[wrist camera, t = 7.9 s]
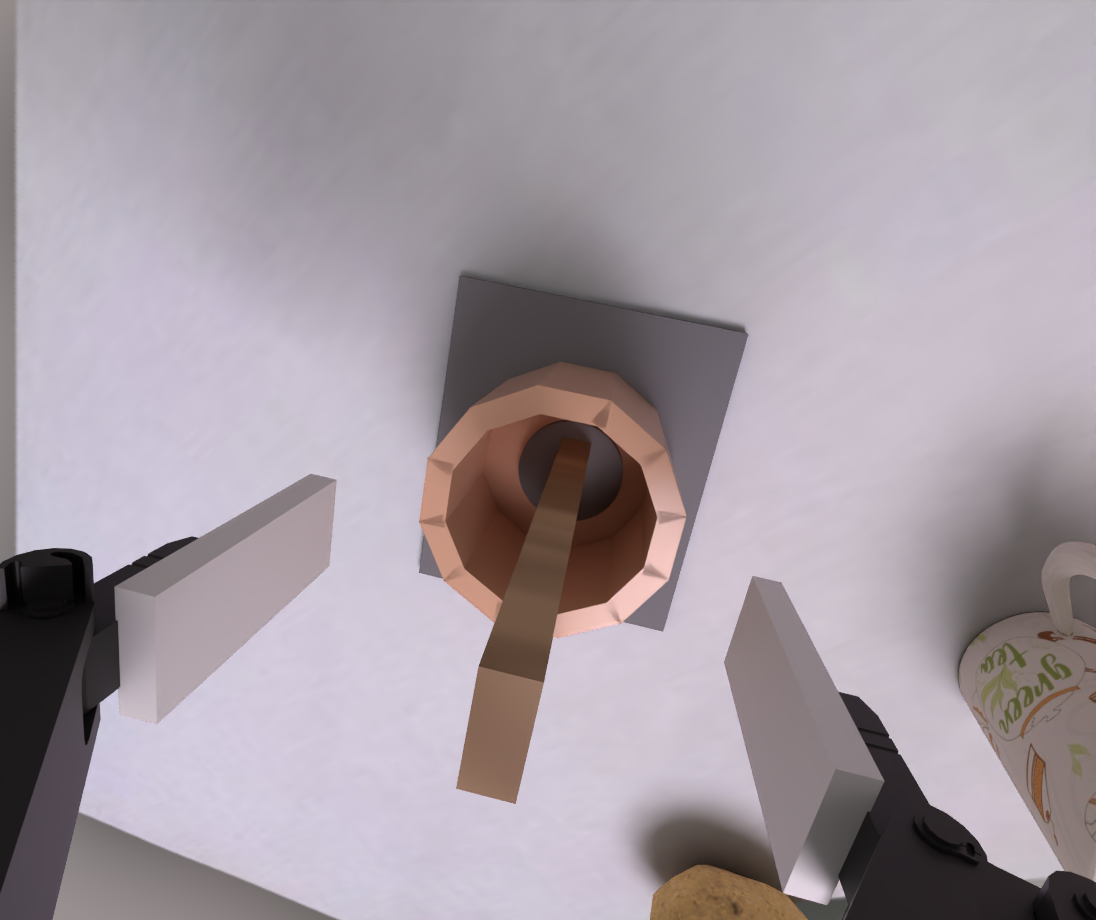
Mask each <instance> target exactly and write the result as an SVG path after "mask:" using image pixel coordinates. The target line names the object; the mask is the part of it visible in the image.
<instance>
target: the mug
mask: <svg viewBox="0 0 1096 920" xmlns="http://www.w3.org/2000/svg"><path fill="white" fill-rule="evenodd" d="M1075 575H1085V576H1089V577H1091V578H1093V579H1095V580H1096V545H1093V544H1090V543H1086V542H1076V541H1073V542H1065V543H1063V544H1060V545H1058V546H1056V547H1055V548H1054V549H1053V550H1052V552H1051V553H1050V555H1049V557H1048V558H1047V560H1046V562H1045V564H1044V566H1043V569H1042V574H1041V582H1042V587H1043V591H1044V595H1045V598H1046V601H1047V605H1048V608H1049V611H1050V612H1033V613H1025V614H1020V615H1016V616H1012V617H1009V618H1007V619H1004V620H1002V621H999V622H997V623H995V624H994V625H992V626H990V627H989V628H987V629H986V630H984V631H983V632H982V633H981V634H979V635H978V636H977V637H976V638H975V639H974V640H973V642H972V643H971V644H970V645H969V647H968V648H967V650H966V652H965V653H964V655H963V658H962V660H961V663H960V668H959V685H960V689H961V692H962V694H963V697H964V699H965V701H966V703H967V705H968V706H969V708H970V710H971V712H972V714H973V715H974V717H975V719H976V720H977V722H978V724H979V726H980V727H981V729H982V731H983V732H984V734H985V736H986V738H987V739H988V741H989V743H990V744H991V746H992V748H993V749H994V751H995V753H996V755H997V756H998V758H999V760H1000V761H1001V763H1002V765H1003V767H1004V768H1005V770H1006V772H1007V773H1008V775H1009V777H1010V779H1011V780H1012V782H1013V784H1014V785H1015V787H1016V789H1017V790H1018V792H1019V794H1020V796H1021V797H1022V799H1023V801H1024V802H1025V804H1026V806H1027V808H1028V809H1029V811H1030V813H1031V814H1032V816H1033V818H1034V820H1035V821H1036V823H1037V825H1038V826H1039V828H1040V830H1041V831H1042V833H1043V835H1044V837H1045V838H1046V840H1047V842H1048V843H1049V845H1050V847H1051V849H1052V850H1053V852H1054V854H1055V855H1056V857H1057V859H1058V861H1059V862H1060V864H1061V866H1062V867H1063V869H1064V871H1067V872H1073V873H1075V874H1078V875H1081V876H1083V877H1086V878H1089V879H1091V880H1093V881H1094V882H1096V628H1094V627H1092V626H1090V625H1088V624H1086V623H1084V622H1082V621H1080V620H1078V619H1075V618H1073V614H1072V607H1071V599H1070V580H1071V577H1072V576H1075Z"/></svg>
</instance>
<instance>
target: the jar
mask: <svg viewBox="0 0 1096 920" xmlns="http://www.w3.org/2000/svg"><path fill="white" fill-rule="evenodd" d="M560 420H571V421H575V422H580V423H585V424H589V425H594V426H597V427H598V428H600V429H601V430H602V431H603V432H604V433H606V434H607V435H608V436H609V437H610V438H611V439H612V440H613V441H614V443H615V444H616V446H617V448H618V450H619V452H620V455H621V458H622V463H623V479H622V485H621V488H620V491H619V493H618V495H617V497H616V499H615V500H614V501H613V503H612V504H611V505H610V506H609V507H608V508H607V509H606V510H605V511H603V512H602V513H600V514H599V515H597V516H594V517H592V518H589V519H586V520H581V521H576V524H575V529H574V534H573V539H572V544H571V549H570V554H569V559H568V564H567V569H566V574H565V579H564V584H563V589H562V594H561V599H560V604H559V609H558V614H557V619H556V624H555V629H554V634H553V637H555V638H560V637H564V636H569V635H573V634H577V633H582V632H586V631H590V630H595V629H599V628H603V627H608V626H612V625H616V624H621V623H622V622H623V621H624V620H625V619H626V618H628V617H629V616H630V615H631V614H632V613H633V612H634V611H635V610H636V609H637V608H639V607H640V606H641V605H642V604H643V603H644V602H645V601H646V600H647V599H648V598H650V597H651V596H652V595H653V594H654V593H655V592H656V591H657V590H658V589H659V588H661V587H662V586H663V585H664V584H665V583H666V582H667V581H669V577H670V574H671V570H672V567H673V563H674V559H675V556H676V552H677V549H678V545H679V542H680V538H681V535H682V531H683V528H684V524H685V520H686V517H687V515H686V511H685V507H684V503H683V500H682V496H681V492H680V488H679V484H678V480H677V476H676V472H675V468H674V464H673V461H672V458H671V454H670V451H669V448H668V445H667V441H666V438H665V435H664V431H663V428H662V425H661V421H660V418H659V415H658V411H657V410H656V409H655V408H654V407H653V406H652V405H651V404H650V403H649V402H647V401H646V400H645V399H644V398H643V397H642V396H641V395H640V394H639V393H637V392H636V391H635V390H634V389H633V388H632V387H631V386H630V385H629V384H627V383H626V382H625V381H624V380H623V379H622V378H621V377H620V376H619V375H618V374H616V373H614V372H609V371H604V370H599V369H595V368H590V367H585V366H580V365H575V364H571V363H566V362H561V361H560V362H558V363H555V364H552V365H549V366H546V367H543V368H540V369H537V370H534V371H531V372H528V373H525V374H522V375H519V376H516V377H513V378H510V379H508V380H507V381H506V382H504V383H503V384H501V385H500V386H499V387H497V388H496V389H495V390H493V391H492V392H490V393H489V394H488V395H486V396H485V397H484V398H482V399H481V400H480V401H478V402H477V403H475V404H474V405H473V406H471V407H470V409H469V410H468V411H467V412H466V413H465V414H464V416H463V417H462V418H461V419H460V420H459V422H458V423H457V424H456V425H455V426H454V428H453V429H452V430H451V431H450V432H449V434H448V435H447V436H446V437H445V438H444V440H443V441H442V442H441V443H440V444H439V446H438V447H437V448H436V449H435V450H434V452H433V453H432V454H431V455H430V456H429V457H428V461H427V468H426V476H425V483H424V491H423V498H422V506H421V513H420V521H419V522H420V524H421V527H422V529H423V532H424V534H425V536H426V539H427V541H428V544H429V546H430V548H431V551H432V553H433V556H434V558H435V560H436V563H437V565H438V568H439V570H440V572H441V575H442V577H443V580H444V581H445V582H446V583H447V584H448V585H450V586H451V587H452V588H453V589H454V590H456V591H457V592H458V593H459V594H460V595H462V596H463V597H464V598H465V599H466V600H468V601H469V602H470V603H471V604H472V605H474V606H475V607H476V608H477V609H478V610H480V611H481V612H482V613H483V614H484V615H486V616H487V617H488V618H489V619H490V620H492V621H493V622H494V623H495V621H496V618H497V615H498V612H499V610H500V607H501V604H502V602H503V599H504V596H505V593H506V591H507V588H508V585H509V583H510V580H511V577H512V574H513V572H514V569H515V566H516V564H517V561H518V558H519V555H520V553H521V550H522V547H523V544H524V542H525V539H526V536H527V534H528V531H529V528H530V525H531V523H532V520H533V517H534V515H535V512H536V509H537V508H536V507H535V506H534V505H533V504H532V503H531V502H530V501H529V500H528V498H527V497H526V495H525V494H524V492H523V489H522V487H521V484H520V480H519V473H518V467H519V460H520V456H521V454H522V451H523V449H524V447H525V446H526V444H527V442H528V440H529V439H530V438H531V437H532V435H534V434H535V433H536V432H537V431H538V430H539V429H541V428H542V427H544V426H546V425H548V424H550V423H553V422H556V421H560Z"/></svg>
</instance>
